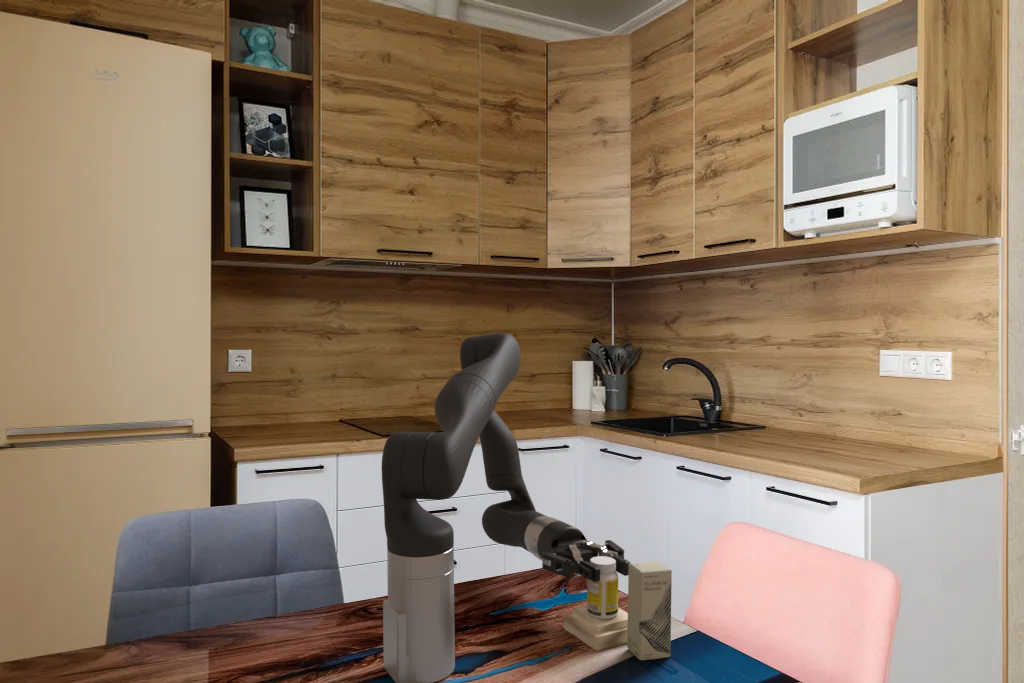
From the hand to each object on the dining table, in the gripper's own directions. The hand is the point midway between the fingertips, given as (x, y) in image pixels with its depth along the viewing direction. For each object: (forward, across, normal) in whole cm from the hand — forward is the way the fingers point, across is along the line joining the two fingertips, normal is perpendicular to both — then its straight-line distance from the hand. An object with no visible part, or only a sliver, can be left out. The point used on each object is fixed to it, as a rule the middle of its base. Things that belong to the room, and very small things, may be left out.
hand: (613, 572), depth 108 cm
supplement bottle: (-3, 0, +8) cm, 8 cm away
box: (+6, +2, +10) cm, 12 cm away
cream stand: (-2, 0, +10) cm, 11 cm away
